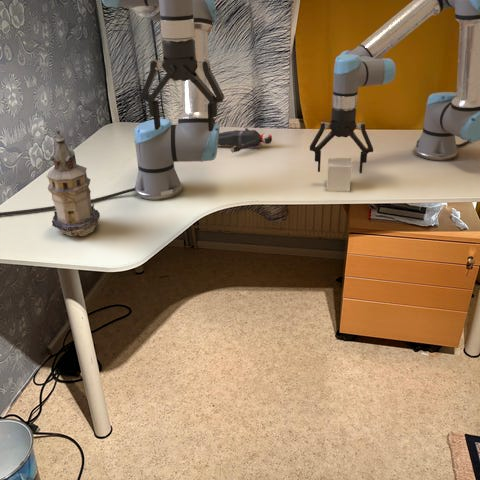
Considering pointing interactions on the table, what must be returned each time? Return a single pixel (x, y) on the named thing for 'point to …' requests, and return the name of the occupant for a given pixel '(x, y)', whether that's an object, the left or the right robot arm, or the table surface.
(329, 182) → the brick
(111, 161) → the table surface
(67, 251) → the table surface
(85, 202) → the miniature building
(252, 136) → the toy
